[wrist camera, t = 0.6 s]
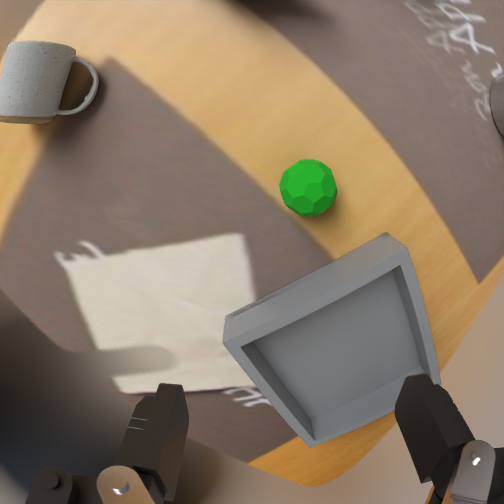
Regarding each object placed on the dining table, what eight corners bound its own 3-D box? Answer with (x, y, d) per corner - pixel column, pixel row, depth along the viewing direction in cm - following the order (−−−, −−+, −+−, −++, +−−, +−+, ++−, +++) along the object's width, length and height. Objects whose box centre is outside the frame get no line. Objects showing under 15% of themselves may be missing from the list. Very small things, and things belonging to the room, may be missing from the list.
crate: (386, 232, 30) (407, 247, 26) (426, 361, 37) (441, 384, 32) (225, 315, 33) (222, 342, 29) (304, 421, 40) (309, 447, 35)
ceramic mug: (20, 120, 25) (-24, 121, 18) (37, 53, 23) (-4, 41, 16) (92, 128, 27) (52, 128, 19) (112, 53, 24) (78, 32, 17)
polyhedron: (277, 210, 30) (283, 222, 25) (277, 158, 28) (282, 161, 23) (329, 209, 30) (342, 221, 25) (329, 158, 28) (344, 161, 23)
